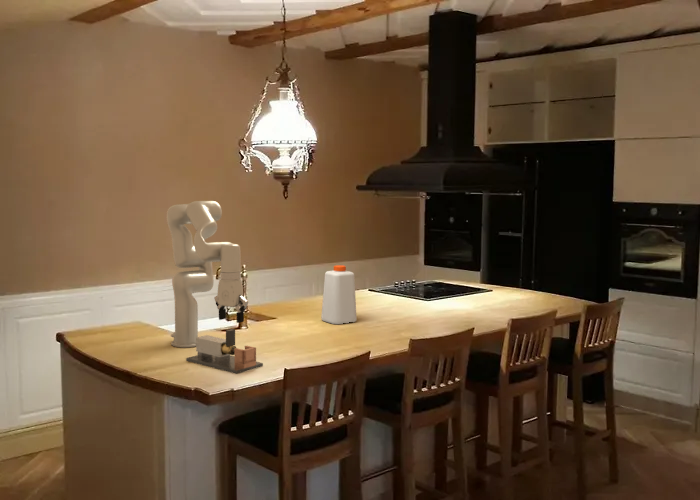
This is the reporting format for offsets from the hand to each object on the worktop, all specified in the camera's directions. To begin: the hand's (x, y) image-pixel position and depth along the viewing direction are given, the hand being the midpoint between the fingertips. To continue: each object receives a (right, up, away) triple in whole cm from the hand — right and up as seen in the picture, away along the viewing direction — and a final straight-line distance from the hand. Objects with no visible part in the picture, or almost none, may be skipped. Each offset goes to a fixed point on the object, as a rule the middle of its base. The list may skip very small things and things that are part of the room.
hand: (231, 320), depth 281 cm
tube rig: (-3, -17, +4) cm, 18 cm away
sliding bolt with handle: (-6, -13, +6) cm, 15 cm away
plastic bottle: (+40, -9, +88) cm, 97 cm away
